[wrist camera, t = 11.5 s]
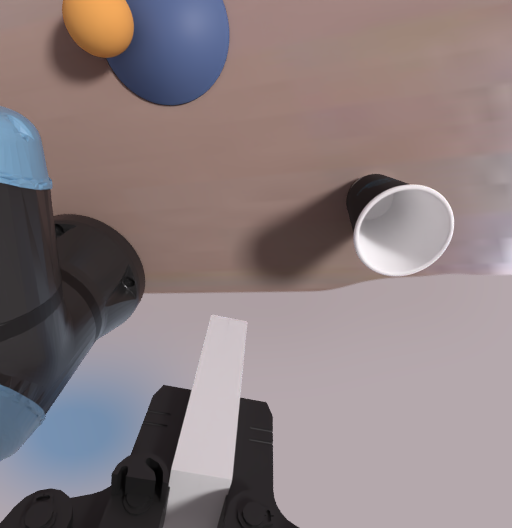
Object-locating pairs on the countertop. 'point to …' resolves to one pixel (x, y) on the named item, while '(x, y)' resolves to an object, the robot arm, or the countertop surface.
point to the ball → (99, 25)
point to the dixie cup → (398, 224)
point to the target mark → (174, 49)
